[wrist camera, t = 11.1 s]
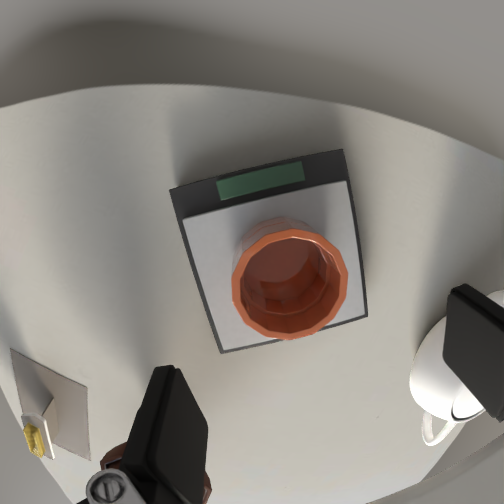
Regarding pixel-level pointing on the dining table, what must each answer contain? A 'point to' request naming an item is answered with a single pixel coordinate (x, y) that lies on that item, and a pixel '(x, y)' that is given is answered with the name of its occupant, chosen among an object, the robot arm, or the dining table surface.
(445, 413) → the teapot
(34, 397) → the platform
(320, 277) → the dip bowl
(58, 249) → the dining table surface
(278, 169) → the scale
